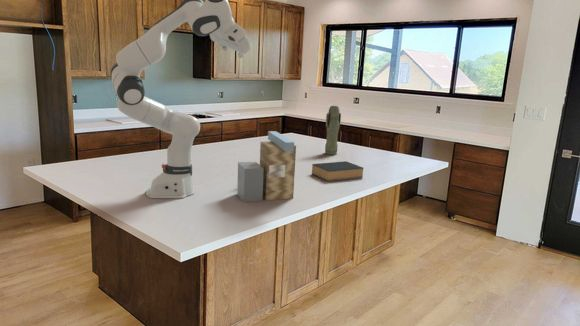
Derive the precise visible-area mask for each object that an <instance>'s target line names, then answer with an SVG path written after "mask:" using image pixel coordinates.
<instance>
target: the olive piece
mask: <svg viewBox="0 0 580 326" xmlns="http://www.w3.org/2000/svg"><path fill="white" fill-rule="evenodd" d="M341 118H342V114H341V112H340V108H339V106H338V105H331V106H329V108H328V112H327V113H326V117H325V127H326V143H325V147H324V154H325V155H328V156H336V155H337V154H338V147H339V146H338V138H339V137H338V136H339V131H340V130H339V129H340V126H341Z"/></svg>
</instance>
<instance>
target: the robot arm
mask: <svg viewBox="0 0 580 326" xmlns="http://www.w3.org/2000/svg"><path fill="white" fill-rule="evenodd" d="M185 23H188V26H189V27H190V29H191V30H192V32H193V33H194V34H195V35H196V36H199V37H206V36H208V35H209V38H210V40H211V41H212V42H214V43H217V44H218V45H219V47H220V48H221V50H222V51H223V52H226V51H227V50H228V49H231V50H233V51H235V52H238V53H237V56H238V58H240V59H242V58H243V57H244V55H246V54H247V53H248V52H249V51H250V49H251V47H250V42H249V39H248V37H247V36H246V34H247V32H246V30H245V28H243V27H241V26H240V25H239V24H238V23H237V22H235V20H234V18H233V12H232V8H231V5H230V3H229V0H205V1H203V0H183V1H182V2H181V3H180V4H179V5H178V6H177V7H176V8H175V9H174V10H172V11H171V12H170V13H168V14H167V15H165V16H164V17H162V18H161V19H159V20H158V21H156V22H155V23H154V24H153V25H151V27H150V28H149V29H148V30H147V32H145V34H143V35H142V36H140V37H139V38H137V39H136V40H134V41H132V42H131V43H129V44H128V45H126V46H124V47H123V48H122V49H120V50H119V51H118V52H117V54H116V56H115V61H116V63H114V64H113V65H112V67H111V68H110V79H111V83H112V86H113V89H114V91H115V93H116V96H117V97H118V98H117V101H116V102H117V103H116V107H117V109H118V111H120V113H122V114H123V115H125V116H127V117H129V118H131V119H133V120H135V121H138V122H140V123H143V124H145V125H148V126H150V127H153V128H155V129H158V130H159V131H162V132H164V133H166V134H170V135H172V138H171V142H170V143H169V144H170V145H168V147H167V150H166V156H167V159H166V161H167V162H166V164H165V163H162V164H161V168H162V172H161V173H159V175H157V176H155V178H153V179H152V181H151V185H150V188H148V189H146V191H145V195H146V197H148V198H149V199H184V198H187V197H188V196H192V195H194V194H195V192H196V191H195V189H194V188H195V187H194V184H193V177H192V175H193V165H192V147H193V144H194V140H195V137H197V135H199V132H200V130H201V123H200V121H199V120H198V119H197V118H196V117H194V116H193V115H191V114H188V113H185V112H184V113H183V112H180V111H177V110H174V109H171V108H169V107H168V106H166V105H165V104H163V103H162V102H161V103H160V102H158V101H157V100H154V99H152V98H150V97H147V96H145V94H146V93H145V92H146V91H145V86H144V83H143V79H142V78H141V73H142V72H143V71H144V70H146V69H147V68H149V67H151V66H154V65H155V64H156V63H158V62H160V61H161V60H162V59H163V58H164V57H165V55H166V51H167V40H168V36H169V35H170V34H171V33H172V32H173V31H175V30H176V29H178V28H179V27H180V26H181V25H183V24H185Z"/></svg>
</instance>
